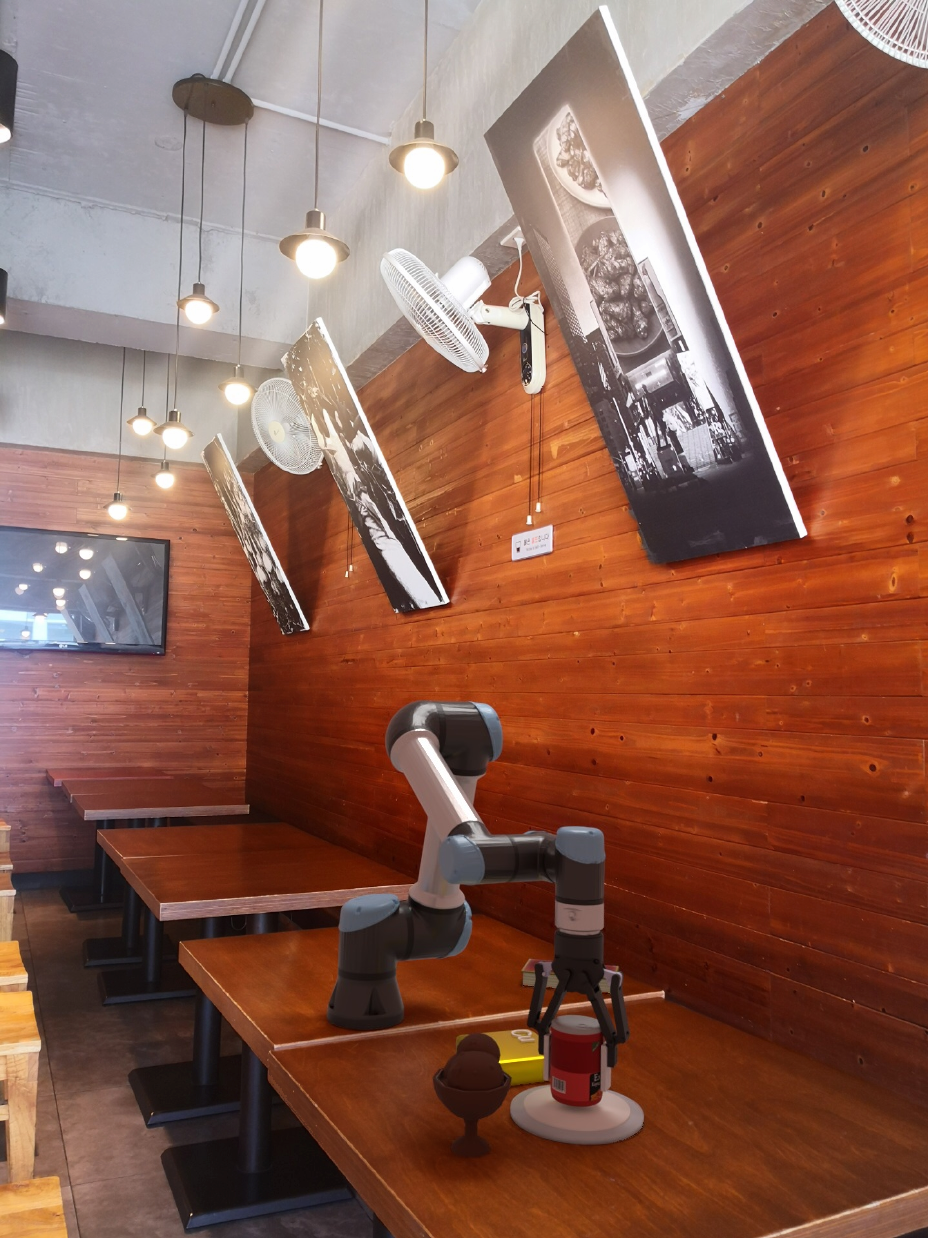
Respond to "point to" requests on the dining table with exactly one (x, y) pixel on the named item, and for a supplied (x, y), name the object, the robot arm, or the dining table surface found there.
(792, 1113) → the dining table surface
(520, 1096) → the dish
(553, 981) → the hardcover book
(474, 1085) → the ice cream bowl
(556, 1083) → the canned food
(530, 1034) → the element tile
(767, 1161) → the dining table surface
